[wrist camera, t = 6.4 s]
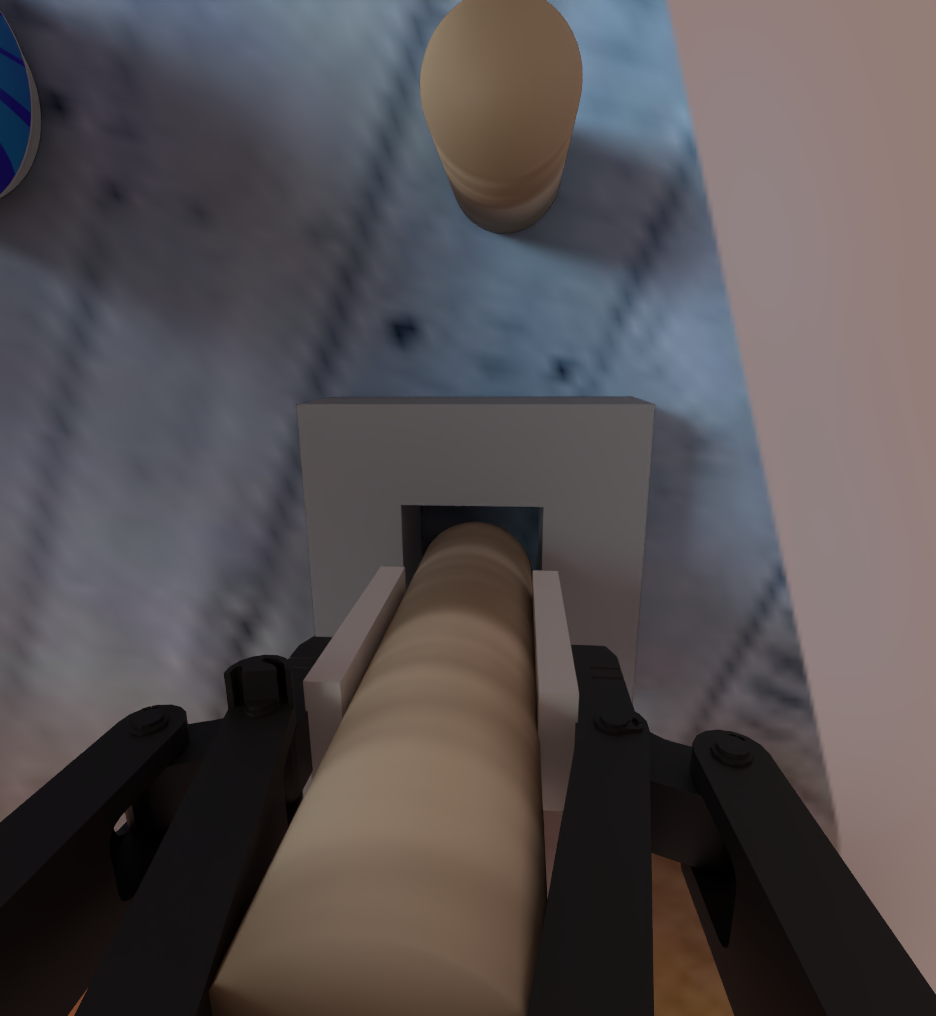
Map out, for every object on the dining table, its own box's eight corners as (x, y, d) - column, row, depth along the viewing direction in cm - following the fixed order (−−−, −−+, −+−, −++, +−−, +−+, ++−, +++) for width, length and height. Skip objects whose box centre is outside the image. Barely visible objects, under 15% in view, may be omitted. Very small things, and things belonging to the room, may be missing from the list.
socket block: (350, 660, 26) (321, 711, 23) (332, 396, 23) (296, 404, 20) (613, 670, 25) (630, 726, 22) (631, 396, 22) (655, 404, 18)
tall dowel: (419, 520, 20) (167, 921, 6) (532, 522, 20) (565, 954, 5) (422, 623, 21) (213, 1182, 7) (530, 627, 21) (550, 1226, 6)
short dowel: (452, 234, 21) (421, 177, 15) (450, 113, 20) (417, -8, 14) (559, 232, 21) (578, 172, 14) (563, 108, 20) (586, -18, 13)
